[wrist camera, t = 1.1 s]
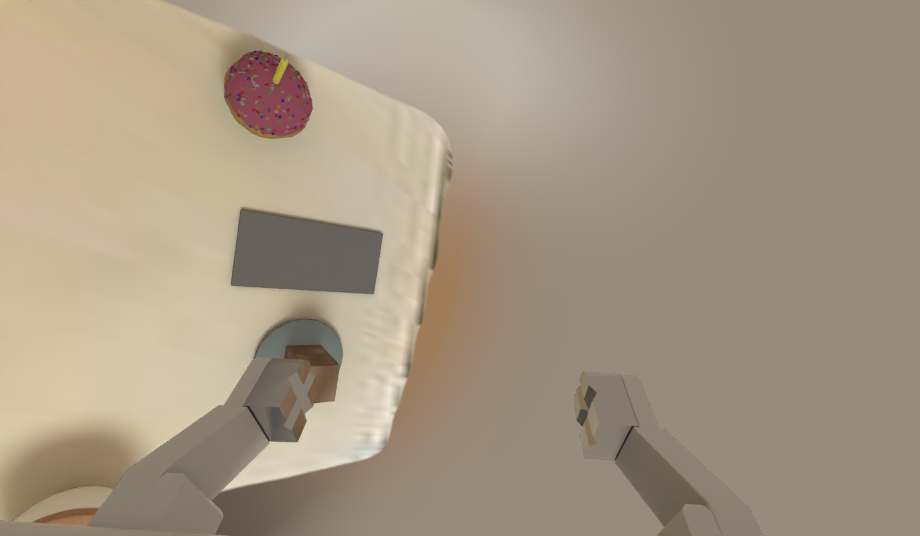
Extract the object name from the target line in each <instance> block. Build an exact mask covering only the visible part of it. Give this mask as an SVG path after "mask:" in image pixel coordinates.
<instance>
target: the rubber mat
mask: <svg viewBox="0 0 920 536" xmlns="http://www.w3.org/2000/svg"><path fill="white" fill-rule="evenodd" d="M382 237H383V234H382V233H376V232H370V231H364V230H358V229H352V228H346V227H340V226H334V225H328V224H322V223H316V222H310V221H304V220H298V219H292V218H286V217H280V216H274V215H268V214H262V213H256V212H250V211H244V210H241V212H240V220H239V228H238V235H237V243H236V251H235V259H234V266H233V274H232V282H231V286H245V287H262V288H279V289H296V290H313V291H330V292H347V293H364V294H374V290H375V283H376V276H377V270H378V263H379V257H380V250H381V243H382Z"/></svg>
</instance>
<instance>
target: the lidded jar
mask: <svg viewBox="0 0 920 536" xmlns="http://www.w3.org/2000/svg"><path fill="white" fill-rule="evenodd" d="M112 491H113V489H112V488H108V487H103V486H83V487H78V488H73V489H69V490H66V491H62V492H60V493H57V494H54V495H52V496H50V497H48V498H46V499H44V500H42V501H40V502H39V503H37V504H35V505H34V506H32V507H31V508H29V509H27V510H26V511H25V512H23V513H22V514H21V515H20V516H18V517H17V518H16V519H15V520H14V521H19V522H34V523H49V524H64V525H78V526H87V524H88V523H89V521H90V520H91V519H92V517H93V516H94V515H95V513H96V512H97V511H98V509H99V508H100V507H101V505H102V504H103V503H104V501H105V500H106V499H107V497H108V496H109V495H110V493H111V492H112Z"/></svg>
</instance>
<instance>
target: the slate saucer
mask: <svg viewBox="0 0 920 536" xmlns="http://www.w3.org/2000/svg"><path fill="white" fill-rule="evenodd" d="M289 345H322V346H323V348H324V349H325V350H326V351H327V352H328V353H329V354H330V355H331V356H332V357H333V358H334V359H335V360H336V361H337V363H338V364H339V365H340V366H341V363H342V357H343V350H342V345H341V342H340V339H339V338H338V336H337V335H336V333H335V332H334V331H333V330H332V329H331V328H330V327H328V326H327V325H326V324H324V323H322V322H319V321H316V320H312V319H298V320H293V321H289V322H286V323H284V324H282V325H280V326H278V327H277V328H275V329H274V330H272V331H271V332H270V333H269V334H268V335H267V336H266V337H265V338H264V339H263V341H262V342H261V343H260V345H259V347H258V349H257V351H256V354H255V358H256V357H268V358H283V359H284V356H285V349H286V346H289ZM255 358H254V359H255ZM339 369H340V367H339Z"/></svg>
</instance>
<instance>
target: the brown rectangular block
mask: <svg viewBox="0 0 920 536" xmlns="http://www.w3.org/2000/svg"><path fill="white" fill-rule="evenodd" d="M284 359H298V360H308V361H309V363H310V365H311V369H310V371H309V372H310V373H311V374H313V375H314V376H315V377H316V380H317V387H318V389H317V395H316V399H315V402H314V403H320V402H329V401H335V395H336V388H337V381H338V374H339V367H340V365H339V364H338V363H337V361H336V360H335V359H334V358H333V357H332V356H331V355H330V354H329V353H328V352H327V351H326V350H325V349H324V348H323V346H322V345H289V346H286V349H285V356H284Z"/></svg>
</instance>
